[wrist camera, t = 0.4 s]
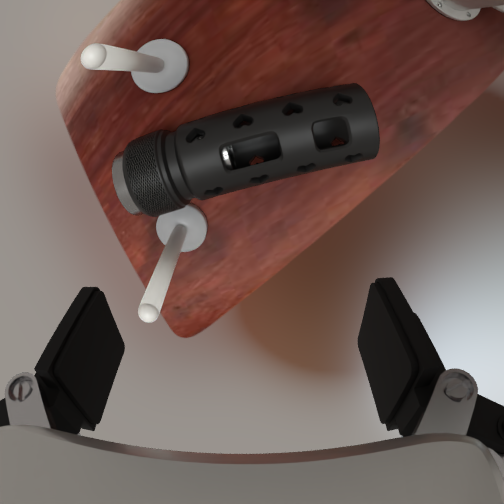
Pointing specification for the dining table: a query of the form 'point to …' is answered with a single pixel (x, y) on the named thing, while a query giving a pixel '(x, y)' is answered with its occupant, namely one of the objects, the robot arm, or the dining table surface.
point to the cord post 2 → (172, 253)
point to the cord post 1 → (142, 63)
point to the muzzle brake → (246, 148)
